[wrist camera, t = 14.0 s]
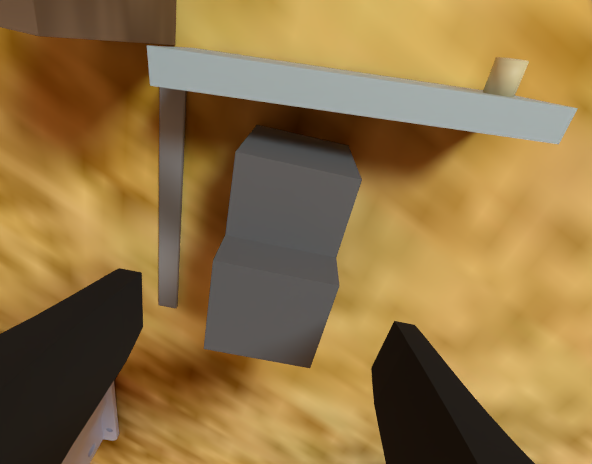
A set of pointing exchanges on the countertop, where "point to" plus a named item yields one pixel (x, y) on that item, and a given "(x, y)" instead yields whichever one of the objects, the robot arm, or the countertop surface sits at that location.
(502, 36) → the countertop surface
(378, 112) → the pale grey bar
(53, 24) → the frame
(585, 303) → the countertop surface
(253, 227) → the stepped block
